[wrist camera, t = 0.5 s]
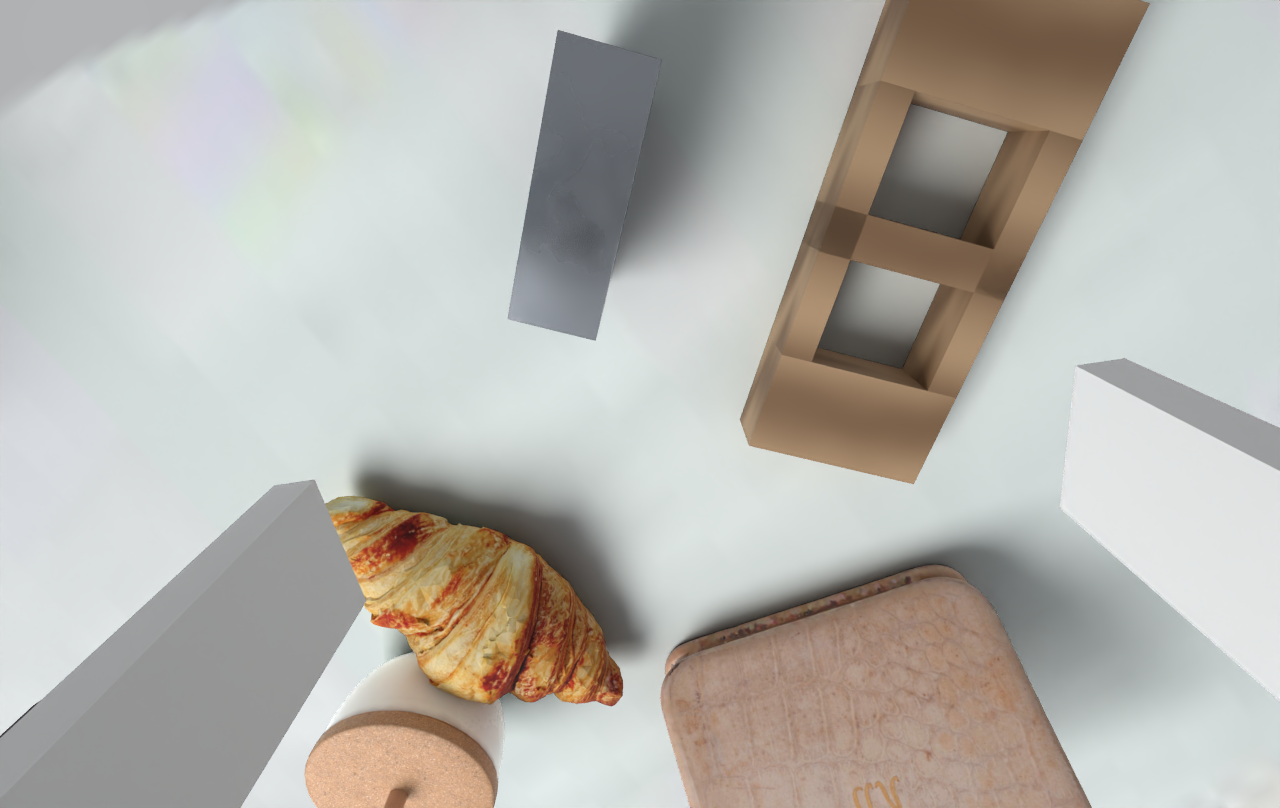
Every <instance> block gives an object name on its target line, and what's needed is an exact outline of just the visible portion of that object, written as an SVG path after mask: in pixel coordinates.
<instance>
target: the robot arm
mask: <svg viewBox="0 0 1280 808" xmlns="http://www.w3.org/2000/svg"><path fill="white" fill-rule="evenodd" d="M1060 509H1061V510H1062V511H1064V512H1065V513H1066V514H1067V515H1068V516H1069V517H1070V518H1072V519H1073V520H1074V521H1075V522H1076V523H1077V524H1078V525H1080V526H1081V527H1082V528H1083V529H1084V530H1085V531H1086V532H1088V533H1089V534H1090V535H1091V536H1092V537H1093V538H1094V539H1095V540H1097V541H1098V542H1099V543H1100V544H1101V545H1102V546H1103V547H1105V548H1106V549H1107V550H1108V551H1109V552H1110V553H1111V554H1113V555H1114V556H1115V557H1116V558H1117V559H1118V560H1119V561H1121V562H1122V563H1123V564H1124V565H1125V566H1126V567H1127V568H1128V569H1130V570H1131V571H1132V572H1133V573H1134V574H1135V575H1136V576H1138V577H1139V578H1140V579H1141V580H1142V581H1143V582H1144V583H1146V584H1147V585H1148V586H1149V587H1150V588H1151V589H1152V590H1154V591H1155V592H1156V593H1157V594H1158V595H1159V596H1160V597H1161V598H1163V599H1164V600H1165V601H1166V602H1167V603H1168V604H1169V605H1171V606H1172V607H1173V608H1174V609H1175V610H1176V611H1177V612H1179V613H1180V614H1181V615H1182V616H1183V617H1184V618H1185V619H1186V620H1188V621H1189V622H1190V623H1191V624H1192V625H1193V626H1194V627H1196V628H1197V629H1198V630H1199V631H1200V632H1201V633H1202V634H1204V635H1205V636H1206V637H1207V638H1208V639H1209V640H1210V641H1212V642H1213V643H1214V644H1215V645H1216V646H1217V647H1218V648H1219V649H1221V650H1222V651H1223V652H1224V653H1225V654H1226V655H1227V656H1229V657H1230V658H1231V659H1232V660H1233V661H1234V662H1235V663H1237V664H1238V665H1239V666H1240V667H1241V668H1242V669H1243V670H1245V671H1246V672H1247V673H1248V674H1249V675H1250V676H1251V677H1252V678H1254V679H1255V680H1256V681H1257V682H1258V683H1259V684H1260V685H1262V686H1263V687H1264V688H1265V689H1266V690H1267V691H1268V692H1270V693H1271V694H1272V695H1273V696H1274V697H1275V698H1276V699H1277V700H1279V701H1280V428H1278V427H1276V426H1274V425H1272V424H1270V423H1267V422H1265V421H1263V420H1261V419H1258V418H1256V417H1254V416H1252V415H1249V414H1247V413H1245V412H1243V411H1241V410H1238V409H1236V408H1234V407H1232V406H1229V405H1227V404H1225V403H1223V402H1220V401H1218V400H1216V399H1214V398H1212V397H1209V396H1207V395H1205V394H1203V393H1200V392H1198V391H1196V390H1194V389H1191V388H1189V387H1187V386H1185V385H1183V384H1180V383H1178V382H1176V381H1174V380H1171V379H1169V378H1167V377H1165V376H1162V375H1160V374H1158V373H1156V372H1154V371H1151V370H1149V369H1147V368H1145V367H1142V366H1140V365H1138V364H1136V363H1133V362H1131V361H1129V360H1127V359H1125V358H1124V359H1118V360H1111V361H1104V362H1098V363H1091V364H1084V365H1077V366H1076V367H1075V376H1074V385H1073V394H1072V403H1071V412H1070V421H1069V430H1068V439H1067V448H1066V457H1065V466H1064V475H1063V484H1062V493H1061V502H1060ZM365 602H366V599H365V597H364V594H363V592H362V590H361V587H360V585H359V582H358V580H357V578H356V575H355V573H354V571H353V568H352V566H351V564H350V561H349V559H348V557H347V554H346V552H345V550H344V547H343V545H342V543H341V540H340V538H339V536H338V533H337V531H336V529H335V526H334V524H333V522H332V519H331V517H330V515H329V512H328V510H327V508H326V505H325V503H324V501H323V498H322V496H321V494H320V491H319V489H318V487H317V484H316V482H315V480H309V481H302V482H295V483H289V484H282V485H275V486H273V487H272V488H271V489H270V490H269V491H268V492H267V493H266V494H265V495H263V496H262V497H261V498H260V499H259V500H258V501H257V502H256V503H255V504H254V505H253V506H252V507H250V508H249V509H248V510H247V511H246V512H245V513H244V514H243V515H242V516H241V517H240V518H239V519H237V520H236V521H235V522H234V523H233V524H232V525H231V526H230V527H229V528H228V529H227V530H225V531H224V532H223V533H222V534H221V535H220V536H219V537H218V538H217V539H216V540H215V541H214V542H212V543H211V544H210V545H209V546H208V547H207V548H206V549H205V550H204V551H203V552H202V553H201V554H199V555H198V556H197V557H196V558H195V559H194V560H193V561H192V562H191V563H190V564H189V565H187V566H186V567H185V568H184V569H183V570H182V571H181V572H180V573H179V574H178V575H177V576H176V577H174V578H173V579H172V580H171V581H170V582H169V583H168V584H167V585H166V586H165V587H164V588H163V589H161V590H160V591H159V592H158V593H157V594H156V595H155V596H154V597H153V598H152V599H151V600H150V601H148V602H147V603H146V604H145V605H144V606H143V607H142V608H141V609H140V610H139V611H138V612H136V613H135V614H134V615H133V616H132V617H131V618H130V619H129V620H128V621H127V622H126V623H125V624H123V625H122V626H121V627H120V628H119V629H118V630H117V631H116V632H115V633H114V634H113V635H112V636H110V637H109V638H108V639H107V640H106V641H105V642H104V643H103V644H102V645H101V646H100V647H98V648H97V649H96V650H95V651H94V652H93V653H92V654H91V655H90V656H89V657H88V658H87V659H85V660H84V661H83V662H82V663H81V664H80V665H79V666H78V667H77V668H76V669H75V670H74V671H72V672H71V673H70V674H69V675H68V676H67V677H66V678H65V679H64V680H63V681H62V682H60V683H59V684H58V685H57V686H56V687H55V688H54V689H53V690H52V691H51V692H50V693H49V694H47V695H46V696H45V697H44V698H43V699H42V700H41V701H39V702H38V703H36V704H35V705H33V706H32V707H31V708H30V709H29V710H28V711H27V712H26V713H25V714H24V715H23V716H21V717H20V718H19V719H18V720H17V721H16V722H15V723H14V724H13V725H12V726H11V727H9V728H8V729H7V730H6V731H5V732H4V733H3V734H2V735H1V736H0V808H240V807H241V806H242V804H243V802H244V801H245V799H246V798H247V796H248V794H249V793H250V791H251V789H252V788H253V786H254V784H255V783H256V781H257V779H258V778H259V776H260V775H261V773H262V771H263V770H264V768H265V766H266V765H267V763H268V761H269V760H270V758H271V757H272V755H273V753H274V752H275V750H276V748H277V747H278V745H279V743H280V742H281V740H282V738H283V737H284V735H285V734H286V732H287V730H288V729H289V727H290V725H291V724H292V722H293V720H294V719H295V717H296V716H297V714H298V712H299V711H300V709H301V707H302V706H303V704H304V702H305V701H306V699H307V698H308V696H309V694H310V693H311V691H312V689H313V688H314V686H315V684H316V683H317V681H318V679H319V678H320V676H321V675H322V673H323V671H324V670H325V668H326V666H327V665H328V663H329V661H330V660H331V658H332V657H333V655H334V653H335V652H336V650H337V648H338V647H339V645H340V643H341V642H342V640H343V638H344V637H345V635H346V634H347V632H348V630H349V629H350V627H351V625H352V624H353V622H354V620H355V619H356V617H357V616H358V614H359V612H360V611H361V609H362V607H363V606H364V604H365Z"/></svg>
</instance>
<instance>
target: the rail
mask: <svg viewBox="0 0 1280 808" xmlns="http://www.w3.org/2000/svg"><path fill="white" fill-rule="evenodd" d="M1148 6H1149V3H1146V2H1143V1H1140V0H886V2H885V5H884V8H883V11H882V13H881V16H880V19H879V22H878V25H877V28H876V31H875V34H874V36H873V39H872V42H871V45H870V48H869V51H868V54H867V57H866V59H865V62H864V65H863V68H862V71H861V74H860V77H859V79H858V82H857V85H856V88H855V91H854V94H853V97H852V100H851V102H850V105H849V108H848V111H847V114H846V117H845V120H844V123H843V125H842V128H841V131H840V134H839V137H838V140H837V143H836V146H835V148H834V151H833V154H832V157H831V160H830V163H829V166H828V169H827V171H826V174H825V177H824V180H823V183H822V186H821V189H820V191H819V194H818V197H817V200H816V203H815V206H814V209H813V212H812V214H811V217H810V220H809V223H808V226H807V229H806V232H805V235H804V237H803V240H802V243H801V246H800V249H799V252H798V255H797V258H796V260H795V263H794V266H793V269H792V272H791V275H790V278H789V280H788V283H787V286H786V289H785V292H784V295H783V298H782V301H781V303H780V306H779V309H778V312H777V315H776V318H775V321H774V324H773V326H772V329H771V332H770V335H769V338H768V341H767V344H766V347H765V349H764V352H763V355H762V358H761V361H760V364H759V367H758V369H757V372H756V375H755V378H754V381H753V384H752V387H751V390H750V392H749V395H748V398H747V401H746V404H745V407H744V410H743V413H742V415H741V418H740V421H741V424H742V427H743V430H744V433H745V435H746V438H747V441H748V444H749V446H753V447H757V448H761V449H766V450H770V451H774V452H778V453H783V454H787V455H791V456H796V457H800V458H804V459H808V460H813V461H817V462H821V463H825V464H830V465H834V466H838V467H843V468H847V469H851V470H855V471H860V472H864V473H868V474H872V475H877V476H881V477H885V478H890V479H894V480H898V481H902V482H907V483H911V484H914V483H915V480H916V478H917V476H918V474H919V472H920V470H921V468H922V466H923V464H924V462H925V460H926V458H927V456H928V454H929V452H930V450H931V448H932V446H933V444H934V442H935V440H936V438H937V436H938V434H939V432H940V430H941V428H942V426H943V423H944V421H945V419H946V417H947V415H948V413H949V411H950V409H951V407H952V405H953V403H954V401H955V399H956V397H957V395H958V393H959V391H960V389H961V387H962V385H963V383H964V381H965V379H966V377H967V375H968V373H969V371H970V368H971V366H972V364H973V362H974V360H975V358H976V356H977V354H978V352H979V350H980V348H981V346H982V344H983V342H984V340H985V338H986V336H987V334H988V332H989V330H990V328H991V326H992V324H993V322H994V320H995V318H996V316H997V314H998V311H999V309H1000V307H1001V305H1002V303H1003V301H1004V299H1005V297H1006V295H1007V293H1008V291H1009V289H1010V287H1011V285H1012V283H1013V281H1014V279H1015V277H1016V275H1017V273H1018V271H1019V269H1020V267H1021V265H1022V263H1023V261H1024V259H1025V257H1026V254H1027V252H1028V250H1029V248H1030V246H1031V244H1032V242H1033V240H1034V238H1035V236H1036V234H1037V232H1038V230H1039V228H1040V226H1041V224H1042V222H1043V220H1044V218H1045V216H1046V214H1047V212H1048V210H1049V208H1050V206H1051V204H1052V202H1053V200H1054V197H1055V195H1056V193H1057V191H1058V189H1059V187H1060V185H1061V183H1062V181H1063V179H1064V177H1065V175H1066V173H1067V171H1068V169H1069V167H1070V165H1071V163H1072V161H1073V159H1074V157H1075V155H1076V153H1077V151H1078V149H1079V147H1080V145H1081V143H1082V140H1083V138H1084V136H1085V134H1086V132H1087V130H1088V128H1089V126H1090V124H1091V122H1092V120H1093V118H1094V116H1095V114H1096V112H1097V110H1098V108H1099V106H1100V104H1101V102H1102V100H1103V98H1104V96H1105V94H1106V92H1107V90H1108V88H1109V86H1110V83H1111V81H1112V79H1113V77H1114V75H1115V73H1116V71H1117V69H1118V67H1119V65H1120V63H1121V61H1122V59H1123V57H1124V55H1125V53H1126V51H1127V49H1128V47H1129V45H1130V43H1131V41H1132V39H1133V37H1134V35H1135V33H1136V31H1137V28H1138V26H1139V24H1140V22H1141V20H1142V18H1143V16H1144V14H1145V12H1146V10H1147V8H1148ZM910 104H915V105H918V106H922V107H925V108H928V109H932V110H935V111H939V112H942V113H945V114H949V115H952V116H956V117H959V118H962V119H966V120H969V121H973V122H976V123H979V124H983V125H986V126H990V127H993V128H997V129H1000V130H1003V131H1007V132H1008V133H1007V135H1006V137H1005V140H1004V142H1003V144H1002V146H1001V149H1000V151H999V153H998V155H997V158H996V160H995V162H994V164H993V167H992V169H991V171H990V173H989V176H988V178H987V180H986V182H985V185H984V187H983V189H982V191H981V194H980V196H979V198H978V200H977V202H976V205H975V207H974V209H973V211H972V214H971V216H970V218H969V220H968V223H967V225H966V227H965V229H964V232H963V234H962V236H961V238H960V239H957V238H954V237H950V236H946V235H943V234H939V233H935V232H932V231H928V230H924V229H921V228H917V227H913V226H910V225H906V224H903V223H899V222H895V221H892V220H888V219H884V218H881V217H877V216H873V215H870V214H868V213H869V211H870V208H871V205H872V203H873V200H874V198H875V195H876V192H877V190H878V187H879V185H880V182H881V179H882V177H883V174H884V171H885V169H886V166H887V164H888V161H889V158H890V156H891V153H892V151H893V148H894V145H895V143H896V140H897V137H898V135H899V132H900V130H901V127H902V124H903V122H904V119H905V117H906V114H907V111H908V109H909V106H910ZM850 260H853V261H857V262H860V263H864V264H868V265H872V266H875V267H879V268H883V269H887V270H890V271H894V272H898V273H902V274H905V275H909V276H913V277H917V278H920V279H924V280H928V281H932V282H935V283H939V284H940V286H939V288H938V290H937V292H936V295H935V297H934V299H933V301H932V303H931V306H930V308H929V310H928V312H927V315H926V317H925V319H924V321H923V324H922V326H921V328H920V330H919V333H918V335H917V337H916V339H915V342H914V344H913V346H912V348H911V351H910V353H909V355H908V357H907V360H906V362H905V364H904V366H903V369H900V368H896V367H892V366H888V365H884V364H880V363H876V362H872V361H868V360H864V359H860V358H856V357H852V356H848V355H845V354H841V353H837V352H833V351H829V350H825V349H821V348H817V347H818V344H819V341H820V339H821V336H822V333H823V331H824V328H825V326H826V323H827V320H828V318H829V315H830V313H831V310H832V307H833V305H834V302H835V299H836V297H837V294H838V292H839V289H840V286H841V284H842V281H843V279H844V276H845V273H846V271H847V268H848V266H849V263H850Z"/></svg>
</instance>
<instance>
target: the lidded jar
mask: <svg viewBox="0 0 1280 808" xmlns="http://www.w3.org/2000/svg"><path fill="white" fill-rule="evenodd" d="M504 736H505V735H504V717H503V711H502V706H501V703H500V700H499V699H497V700H496V701H495V702H494V703H493V704H491V705H488V704H483V703H479V702H475V701H470V700H464V699H461V698H458V697H456V696H454V695H451V694H448V693H447V692H445V691H443V690H441V689H439V688H437V687H435V686H433V685H431V684H430V683H429V678H428V677H427V676H426V675H425V673H424V672H423V671H422V670H421V669H420V668H419V665H418V662H417V657H416V654H415V652H414V651H413V652H411V653H408V654H404V655H400V656H398V657H395V658H393V659H391V660H389V661H387V662H385V663H383V664H382V665H380V666H378V667H377V668H375V669H374V670H373V671H372V672H370V673H369V674H368V675H367V676H366V677H364V678H363V679H362V680H361V681H360V682H359V683H358V684H357V685H356V687H355V688H354V689H353V690H352V691H351V692H350V694H349V695H348V696H347V698H346V699H345V700H344V702H343V703H342V705H341V706H340V707H339V709H338V710H337V712H336V713H335V715H334V716H333V718H332V720H331V721H330V723H329V725H328V727H327V728H326V730H325V732H324V733H323V734H322V736H321V737H320V739H319V740H318V741H317V743H316V744H315V746H314V748H313V750H312V751H311V753H310V755H309V758H308V760H307V763H306V768H305V780H306V786H307V789H308V792H309V795H310V797H311V799H312V800H313V802H314V804H315V805H316V806H317V808H493V807H494V804H495V800H496V796H497V789H498V778H499V774H500V769H501V764H502V758H503V748H504Z"/></svg>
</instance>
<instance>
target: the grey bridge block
mask: <svg viewBox="0 0 1280 808" xmlns="http://www.w3.org/2000/svg"><path fill="white" fill-rule="evenodd" d="M660 64H661V60H660V59H657V58H654V57H650V56H647V55H643V54H640V53H636V52H633V51H629V50H626V49H622V48H619V47H615V46H612V45H609V44H605V43H602V42H598V41H595V40H591V39H588V38H584V37H581V36H577V35H574V34H570V33H567V32H564V31H560V30H558V32H557V38H556V43H555V49H554V55H553V61H552V66H551V72H550V78H549V83H548V89H547V95H546V101H545V106H544V112H543V118H542V124H541V129H540V135H539V141H538V147H537V152H536V158H535V164H534V170H533V175H532V181H531V187H530V193H529V198H528V204H527V210H526V215H525V221H524V227H523V233H522V238H521V244H520V250H519V256H518V261H517V267H516V273H515V279H514V284H513V290H512V296H511V302H510V307H509V313H508V319H509V320H513V321H517V322H521V323H525V324H530V325H534V326H538V327H542V328H546V329H550V330H554V331H558V332H562V333H566V334H570V335H575V336H579V337H583V338H587V339H591V340H595V341H596V337H597V333H598V329H599V325H600V321H601V317H602V313H603V309H604V304H605V300H606V296H607V292H608V287H609V283H610V279H611V275H612V270H613V266H614V262H615V258H616V253H617V249H618V245H619V241H620V236H621V232H622V228H623V224H624V219H625V215H626V211H627V207H628V202H629V198H630V194H631V190H632V185H633V181H634V177H635V173H636V168H637V164H638V160H639V156H640V151H641V147H642V143H643V139H644V134H645V130H646V126H647V121H648V117H649V113H650V109H651V104H652V100H653V96H654V92H655V87H656V83H657V79H658V75H659V70H660Z"/></svg>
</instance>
